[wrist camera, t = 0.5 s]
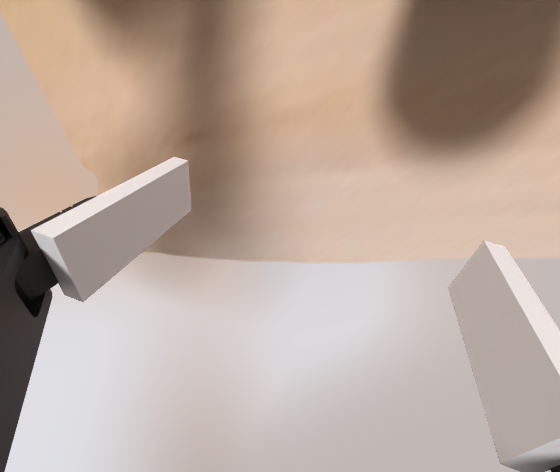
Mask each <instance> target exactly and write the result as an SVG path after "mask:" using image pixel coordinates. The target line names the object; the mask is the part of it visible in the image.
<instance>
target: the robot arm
mask: <svg viewBox="0 0 560 472" xmlns="http://www.w3.org/2000/svg"><path fill="white" fill-rule="evenodd" d="M191 210H192V207H191V192H190V177H189V163H188V160H184V159H180V158H177V157H173V158H171V159H169V160H167V161H165V162H163V163H161V164H159V165H157V166H155V167H153V168H151V169H149V170H147V171H145V172H143V173H141V174H139V175H137V176H135V177H134V178H132V179H130V180H128V181H126V182H124V183H122V184H120V185H118V186H116V187H114V188H112V189H110V190H108V191H106V192H104V193H102V194H100V195H98V196H95V197H90V198H87V199H84V200H82V201H80V202H78V203H76V204H74V205H73V207H68V208H66V209H65V210H63V211H62V212H58V213H57V214H54V215H52V216H50V217H48V218H47V219H44V220H43V221H40V222H38V223H36V224H34V225H33V226H30V227H28V228H26V229H25V230H23V231H20V232H18V231H17V229H16V227H15V226H14V224H13V222H12V220H11V219H10V217H9V215H8V213H7V212H6V211H5V210H4V209H3V208H0V472H4V471H5V467H6V463H7V460H8V456H9V453H10V449H11V445H12V442H13V438H14V434H15V431H16V427H17V424H18V420H19V416H20V412H21V409H22V405H23V401H24V398H25V394H26V391H27V387H28V384H29V380H30V376H31V372H32V369H33V365H34V362H35V358H36V355H37V351H38V347H39V344H40V340H41V336H42V333H43V329H44V325H45V322H46V318H47V314H48V311H49V307H50V304H51V300H52V292H51V290H50V288H52V287H53V286H54V285H56V284H57V283H59V285H60V287H61V289H62V291H63V293H64V295H66V296H69V297H71V298H74V299H76V300H79V301H82V302H84V301H85V300H86V299H87V298H88V297H90V296H91V295H92V294H93V293H94V292H96V291H97V290H98V289H99V288H100V287H101V286H103V285H104V284H105V283H106V282H107V281H109V280H110V279H111V278H112V277H113V276H115V275H116V274H117V273H118V272H119V271H120V270H122V269H123V268H124V267H125V266H126V265H128V264H129V263H130V262H131V261H132V260H133V259H135V258H136V257H137V256H138V255H139V254H141V253H142V252H143V251H144V250H145V249H146V248H148V247H149V246H150V245H151V244H152V243H153V242H155V241H156V240H157V239H158V238H159V237H161V236H162V235H163V234H164V233H165V232H166V231H168V230H169V229H170V228H171V227H172V226H174V225H175V224H176V223H177V222H178V221H179V220H181V219H182V218H183V217H184V216H185V215H187V214H188V213H189V212H190V211H191ZM448 289H449V293H450V296H451V300H452V303H453V306H454V310H455V313H456V316H457V319H458V323H459V326H460V330H461V333H462V336H463V340H464V343H465V347H466V350H467V353H468V357H469V360H470V364H471V367H472V370H473V374H474V377H475V381H476V384H477V387H478V391H479V394H480V398H481V401H482V404H483V407H484V411H485V415H486V418H487V421H488V424H489V428H490V431H491V435H492V438H493V441H494V445H495V448H496V452H497V455H498V458H499V462H500V464H502V465H505V466H507V467H510V468H512V469H515V470H518V471H520V472H545V471H548V470H551V472H560V330H559V329H558V327H557V326H556V324H555V323H554V321H553V320H552V318H551V317H550V315H549V313H548V312H547V310H546V309H545V307H544V306H543V304H542V303H541V301H540V300H539V298H538V297H537V295H536V294H535V292H534V290H533V289H532V287H531V286H530V284H529V283H528V281H527V280H526V278H525V277H524V275H523V274H522V272H521V270H520V269H519V267H518V266H517V264H516V263H515V261H514V260H513V258H512V257H511V255H510V254H509V252H508V250H507V249H506V247H505V246H502V245H498V244H494V243H491V242H487V241H483V243H482V244H481V245H480V246H479V248H478V249H477V250H476V252H475V253H474V254H473V256H472V257H471V258H470V259H469V261H468V262H467V263H466V265H465V266H464V267H463V269H462V270H461V271H460V273H459V274H458V275H457V276H456V278H455V279H454V280H453V281H452V283H451V284H450V285H449V287H448Z"/></svg>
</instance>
